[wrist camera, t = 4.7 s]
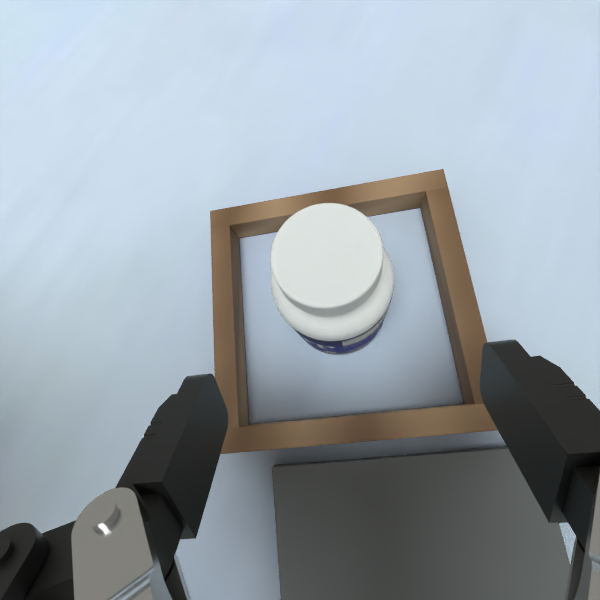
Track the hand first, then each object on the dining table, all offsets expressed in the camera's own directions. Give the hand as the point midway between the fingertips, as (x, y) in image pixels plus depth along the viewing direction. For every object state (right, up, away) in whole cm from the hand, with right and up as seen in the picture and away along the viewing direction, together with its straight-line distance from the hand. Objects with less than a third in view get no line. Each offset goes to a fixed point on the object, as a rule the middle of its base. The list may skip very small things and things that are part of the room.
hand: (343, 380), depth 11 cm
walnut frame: (+1, +2, +10) cm, 10 cm away
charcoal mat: (+4, -9, +6) cm, 12 cm away
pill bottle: (+1, +2, +10) cm, 10 cm away
